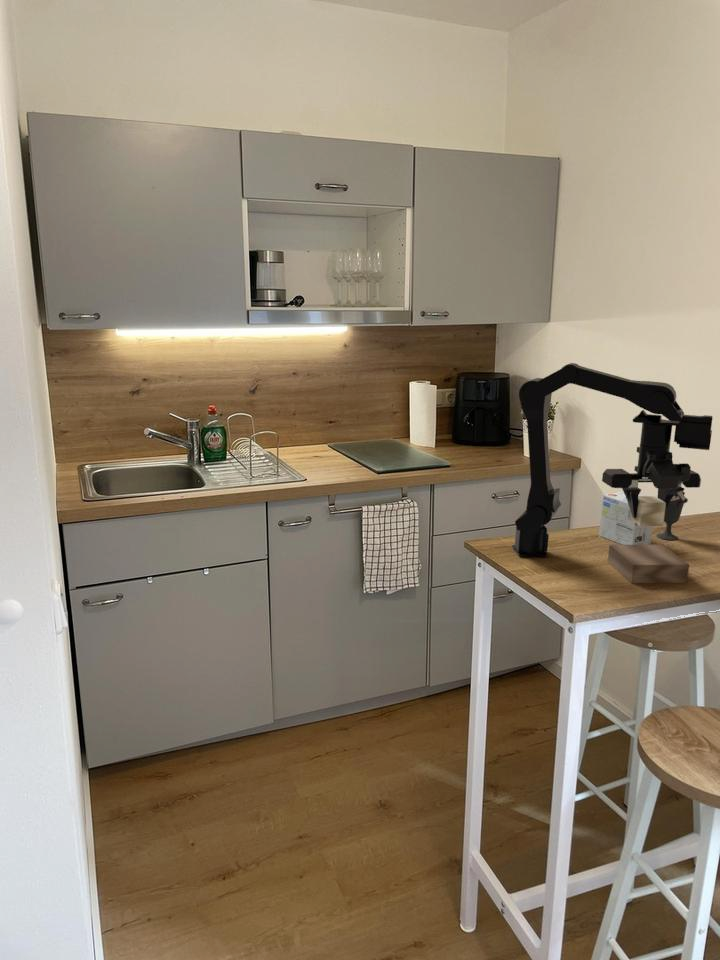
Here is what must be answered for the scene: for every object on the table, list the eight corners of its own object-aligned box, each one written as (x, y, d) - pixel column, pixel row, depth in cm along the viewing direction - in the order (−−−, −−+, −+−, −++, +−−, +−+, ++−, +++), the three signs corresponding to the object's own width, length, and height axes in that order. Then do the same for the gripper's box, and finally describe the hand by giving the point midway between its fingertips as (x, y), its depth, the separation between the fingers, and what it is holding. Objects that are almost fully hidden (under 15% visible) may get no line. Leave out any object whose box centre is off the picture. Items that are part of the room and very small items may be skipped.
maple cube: (639, 526, 150) (642, 503, 149) (629, 518, 155) (631, 496, 154) (663, 525, 151) (665, 502, 149) (652, 518, 155) (654, 496, 154)
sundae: (660, 541, 175) (668, 482, 172) (648, 532, 182) (656, 474, 178) (686, 542, 176) (695, 482, 172) (674, 532, 182) (682, 475, 178)
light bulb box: (651, 545, 173) (657, 502, 170) (632, 549, 170) (638, 505, 167) (616, 531, 182) (621, 490, 179) (597, 535, 179) (602, 493, 176)
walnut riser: (631, 583, 150) (633, 565, 149) (607, 561, 162) (609, 544, 161) (686, 582, 151) (689, 564, 150) (659, 561, 163) (661, 544, 162)
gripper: (627, 453, 140) (618, 530, 144) (720, 453, 142) (709, 529, 146) (604, 442, 151) (597, 513, 155) (691, 441, 152) (682, 512, 156)
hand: (646, 517), depth 153 cm, fingers closed on maple cube, 5 cm apart
